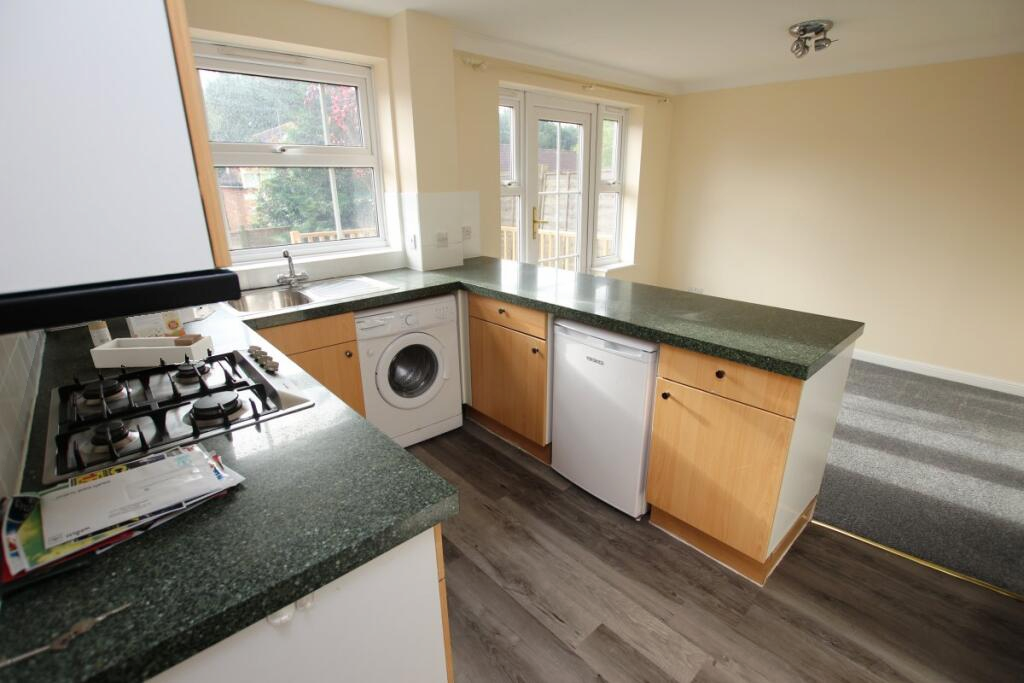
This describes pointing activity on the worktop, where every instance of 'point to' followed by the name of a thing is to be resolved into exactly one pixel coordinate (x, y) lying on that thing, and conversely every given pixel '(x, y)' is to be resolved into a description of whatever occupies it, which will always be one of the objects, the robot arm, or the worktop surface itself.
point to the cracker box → (156, 325)
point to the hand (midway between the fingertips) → (116, 244)
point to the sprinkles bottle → (99, 333)
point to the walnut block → (187, 339)
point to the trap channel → (147, 351)
